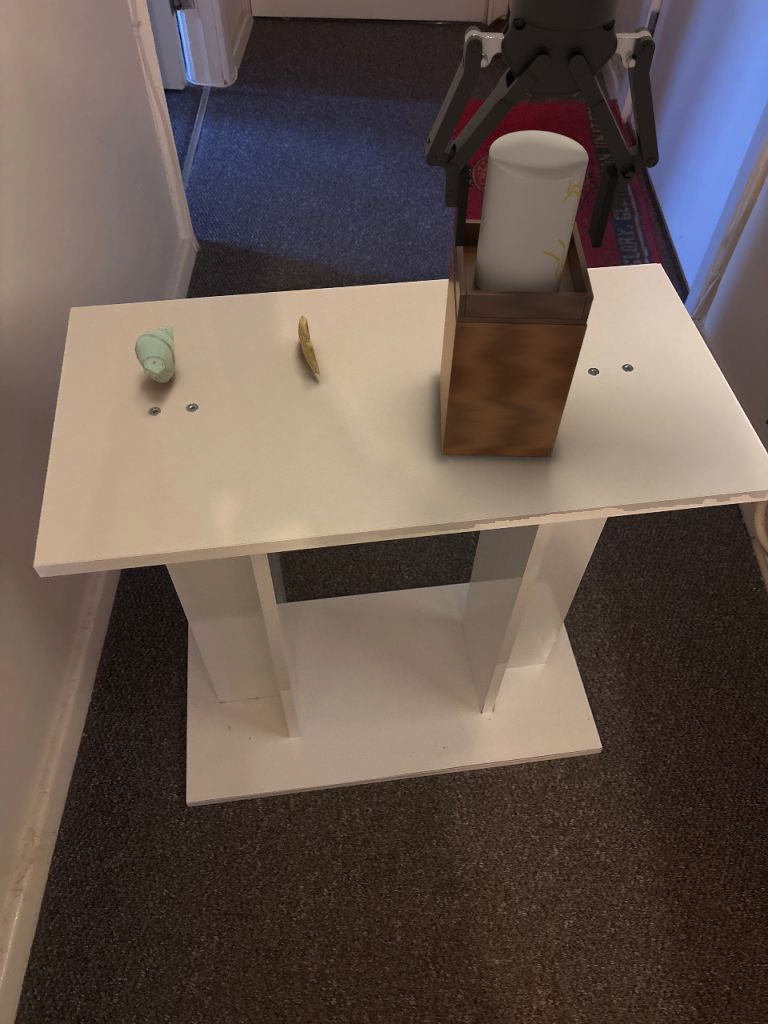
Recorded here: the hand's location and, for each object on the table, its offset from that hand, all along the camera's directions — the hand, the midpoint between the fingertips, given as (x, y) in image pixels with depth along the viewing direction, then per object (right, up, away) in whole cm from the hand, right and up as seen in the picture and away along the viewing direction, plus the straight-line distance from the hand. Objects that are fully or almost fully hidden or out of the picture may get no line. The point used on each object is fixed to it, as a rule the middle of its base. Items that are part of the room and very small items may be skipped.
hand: (526, 238), depth 68 cm
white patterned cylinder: (0, -3, +4) cm, 5 cm away
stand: (0, -14, +18) cm, 23 cm away
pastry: (-22, -6, +24) cm, 33 cm away
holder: (0, -3, +4) cm, 5 cm away
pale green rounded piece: (-39, -9, +22) cm, 46 cm away
